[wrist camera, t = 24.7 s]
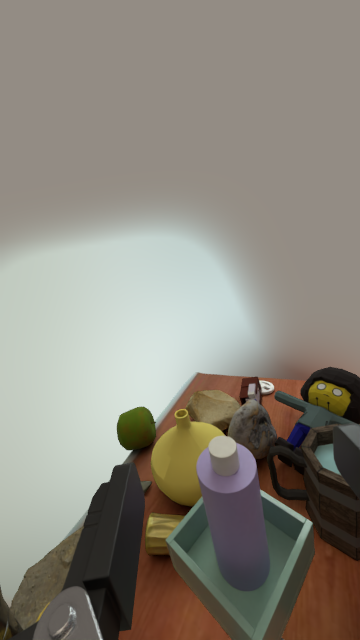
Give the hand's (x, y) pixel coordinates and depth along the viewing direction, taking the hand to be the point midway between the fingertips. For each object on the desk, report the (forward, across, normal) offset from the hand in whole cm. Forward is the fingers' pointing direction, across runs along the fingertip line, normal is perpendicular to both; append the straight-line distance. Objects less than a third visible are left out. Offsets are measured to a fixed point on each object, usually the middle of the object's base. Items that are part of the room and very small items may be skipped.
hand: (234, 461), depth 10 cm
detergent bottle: (+9, 0, +22) cm, 24 cm away
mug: (+26, -18, +44) cm, 54 cm away
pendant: (+69, -20, +43) cm, 84 cm away
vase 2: (+37, +6, +44) cm, 58 cm away
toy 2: (+36, -16, +42) cm, 58 cm away
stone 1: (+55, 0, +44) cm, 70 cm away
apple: (+52, +27, +39) cm, 70 cm away
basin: (+10, 0, +44) cm, 45 cm away
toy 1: (+53, -11, +41) cm, 68 cm away
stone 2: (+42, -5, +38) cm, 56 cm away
